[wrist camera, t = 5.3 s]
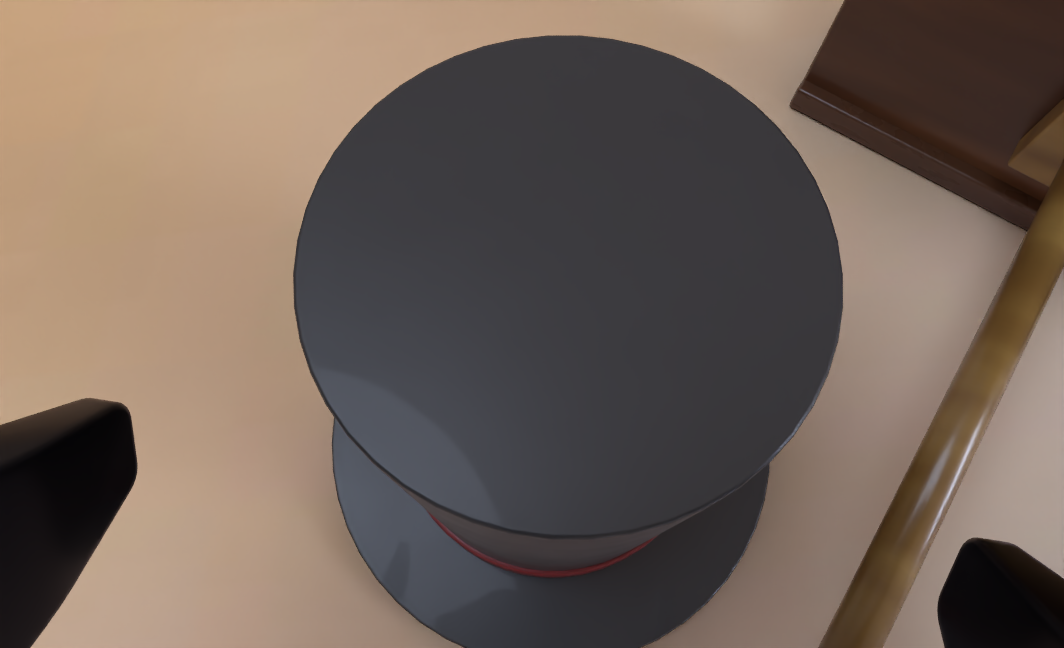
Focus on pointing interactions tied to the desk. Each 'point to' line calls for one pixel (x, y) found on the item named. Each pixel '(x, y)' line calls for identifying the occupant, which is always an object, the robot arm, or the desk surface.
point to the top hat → (563, 336)
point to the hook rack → (974, 173)
